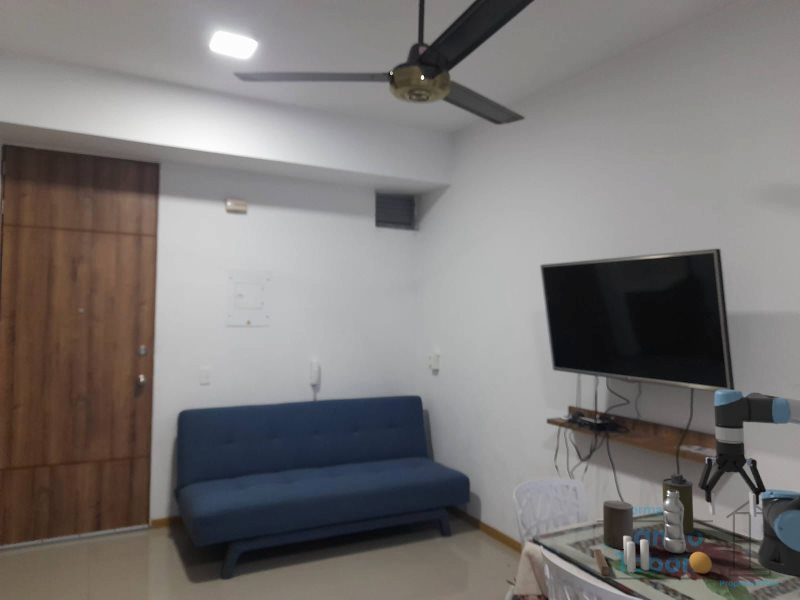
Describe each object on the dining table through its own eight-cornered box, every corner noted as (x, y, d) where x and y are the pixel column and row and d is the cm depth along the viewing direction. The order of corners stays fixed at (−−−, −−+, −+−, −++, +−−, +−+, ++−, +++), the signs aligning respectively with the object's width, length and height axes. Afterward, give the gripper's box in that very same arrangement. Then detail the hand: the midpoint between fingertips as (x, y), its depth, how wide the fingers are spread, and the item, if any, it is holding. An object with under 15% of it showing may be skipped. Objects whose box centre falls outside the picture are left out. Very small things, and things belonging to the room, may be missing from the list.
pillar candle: (603, 547, 193) (603, 503, 193) (603, 537, 202) (602, 495, 203) (634, 551, 190) (634, 506, 190) (632, 541, 199) (632, 497, 200)
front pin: (648, 567, 176) (647, 539, 177) (650, 570, 174) (649, 542, 174) (640, 566, 177) (639, 539, 177) (641, 570, 174) (641, 541, 175)
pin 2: (634, 569, 175) (634, 541, 175) (636, 573, 172) (635, 544, 173) (626, 569, 175) (625, 541, 176) (628, 572, 173) (627, 543, 173)
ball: (707, 569, 175) (707, 549, 175) (715, 577, 169) (714, 557, 169) (687, 567, 176) (686, 548, 176) (693, 576, 170) (692, 555, 170)
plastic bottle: (688, 556, 185) (686, 494, 186) (666, 555, 186) (664, 493, 187) (682, 549, 191) (681, 488, 192) (661, 547, 192) (659, 487, 194)
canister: (687, 536, 203) (685, 479, 204) (658, 528, 211) (656, 474, 212) (699, 529, 211) (697, 474, 212) (670, 522, 218) (668, 469, 219)
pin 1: (631, 563, 180) (630, 535, 180) (632, 566, 177) (632, 538, 178) (623, 562, 180) (622, 535, 180) (624, 565, 178) (624, 538, 178)
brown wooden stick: (600, 557, 184) (600, 549, 185) (608, 575, 171) (608, 566, 171) (594, 556, 185) (594, 549, 185) (601, 574, 171) (601, 566, 171)
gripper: (765, 439, 175) (769, 512, 173) (685, 437, 179) (687, 508, 178) (777, 444, 167) (780, 520, 166) (692, 442, 172) (695, 516, 170)
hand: (732, 514), depth 172 cm, fingers open, 11 cm apart
